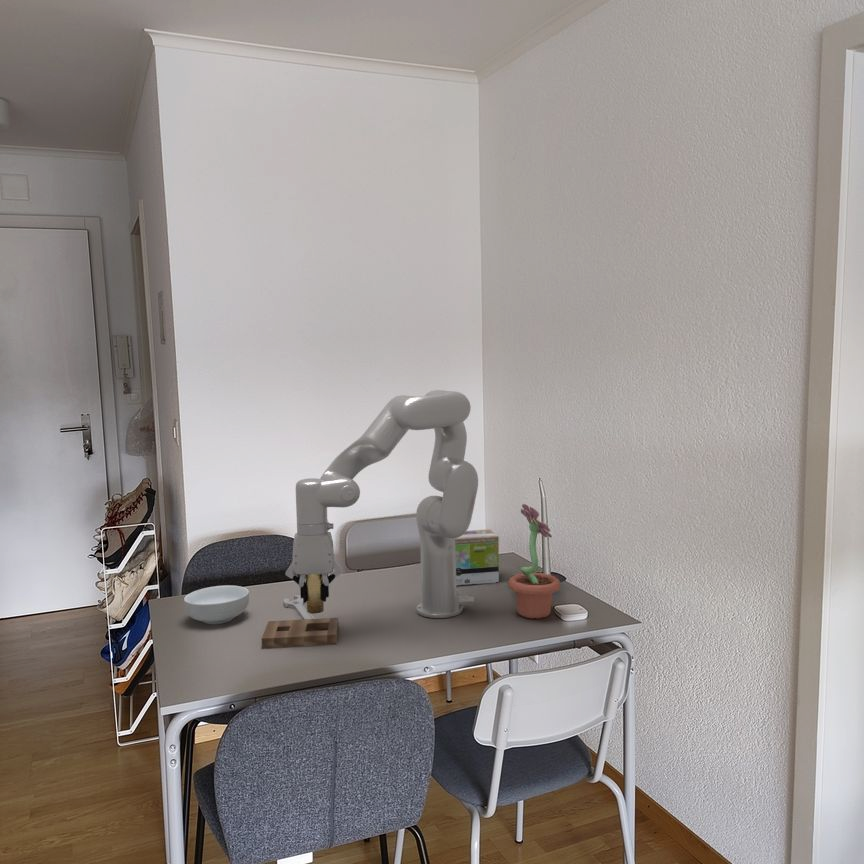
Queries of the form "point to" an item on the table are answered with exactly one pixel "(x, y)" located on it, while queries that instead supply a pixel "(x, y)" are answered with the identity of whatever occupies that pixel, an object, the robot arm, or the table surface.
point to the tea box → (477, 557)
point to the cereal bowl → (217, 603)
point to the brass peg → (314, 593)
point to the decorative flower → (534, 575)
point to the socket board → (300, 633)
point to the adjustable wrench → (298, 607)
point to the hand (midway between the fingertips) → (314, 599)
